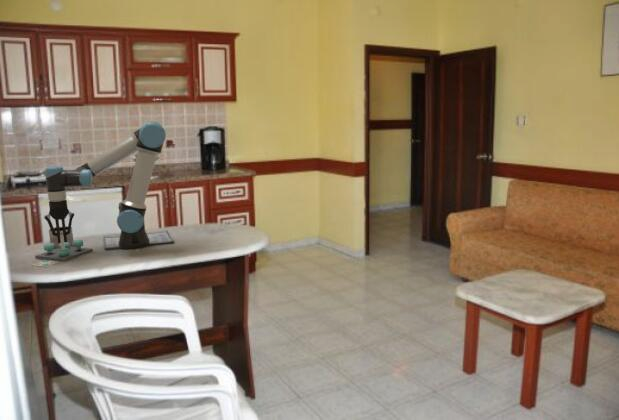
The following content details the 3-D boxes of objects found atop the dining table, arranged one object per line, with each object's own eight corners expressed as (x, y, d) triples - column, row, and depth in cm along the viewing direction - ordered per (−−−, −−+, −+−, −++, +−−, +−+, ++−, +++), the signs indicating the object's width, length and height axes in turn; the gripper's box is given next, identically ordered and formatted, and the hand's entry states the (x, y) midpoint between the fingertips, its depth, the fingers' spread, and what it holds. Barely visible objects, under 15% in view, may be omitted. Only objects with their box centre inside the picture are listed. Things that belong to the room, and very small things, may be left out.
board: (93, 251, 257) (92, 248, 256) (64, 262, 240) (64, 258, 240) (65, 248, 263) (64, 245, 263) (35, 258, 247) (35, 255, 246)
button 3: (72, 250, 259) (71, 242, 258) (64, 252, 254) (63, 244, 254) (65, 249, 260) (64, 241, 259) (57, 251, 256) (56, 244, 255)
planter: (64, 250, 261) (62, 231, 259) (46, 249, 263) (43, 230, 261) (78, 244, 271) (76, 226, 269) (60, 243, 274) (58, 226, 272)
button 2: (72, 256, 247) (71, 248, 246) (64, 259, 243) (63, 251, 242) (64, 255, 249) (63, 247, 248) (56, 258, 245) (55, 250, 244)
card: (59, 262, 240) (59, 261, 240) (45, 267, 233) (45, 266, 233) (46, 260, 243) (46, 259, 243) (31, 265, 236) (31, 264, 235)
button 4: (57, 251, 250) (56, 243, 249) (49, 253, 246) (48, 245, 245) (50, 250, 252) (49, 242, 251) (42, 253, 247) (41, 245, 247)
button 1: (85, 248, 255) (85, 240, 254) (78, 250, 251) (77, 242, 250) (78, 247, 257) (77, 239, 256) (71, 249, 252) (70, 241, 252)
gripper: (73, 197, 246) (78, 245, 251) (42, 199, 241) (48, 248, 246) (73, 199, 240) (78, 249, 244) (41, 202, 234) (47, 252, 239)
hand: (63, 249), depth 245 cm, fingers closed
